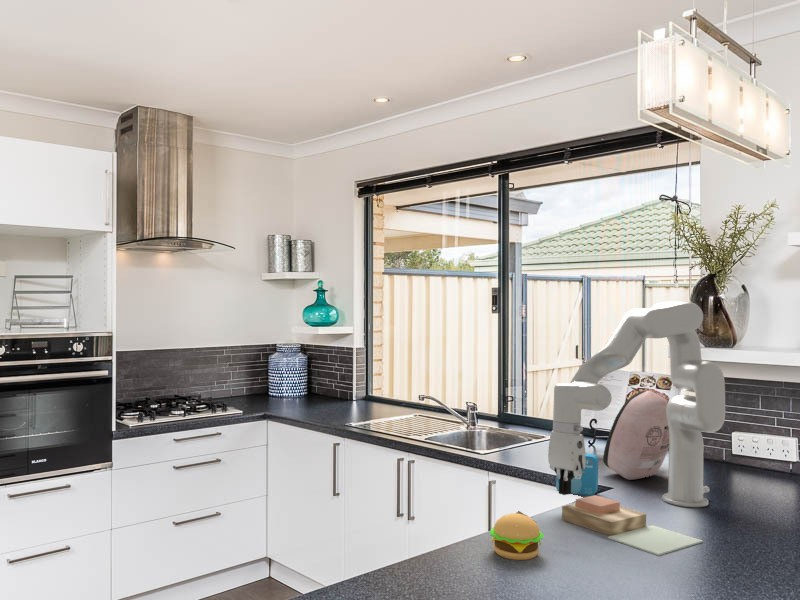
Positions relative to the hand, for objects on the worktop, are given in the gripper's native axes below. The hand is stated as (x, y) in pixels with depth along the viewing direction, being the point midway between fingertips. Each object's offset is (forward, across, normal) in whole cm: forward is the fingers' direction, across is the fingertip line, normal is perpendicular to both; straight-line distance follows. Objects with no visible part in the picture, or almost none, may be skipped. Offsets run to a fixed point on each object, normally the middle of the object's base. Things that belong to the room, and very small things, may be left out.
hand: (564, 493), depth 191 cm
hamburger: (+5, -17, +36) cm, 40 cm away
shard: (+6, 0, +19) cm, 20 cm away
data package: (+5, +12, -19) cm, 23 cm away
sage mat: (+5, -29, 0) cm, 29 cm away
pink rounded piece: (+5, +14, -53) cm, 55 cm away
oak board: (+5, -13, 0) cm, 14 cm away
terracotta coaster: (+1, -11, 0) cm, 11 cm away
